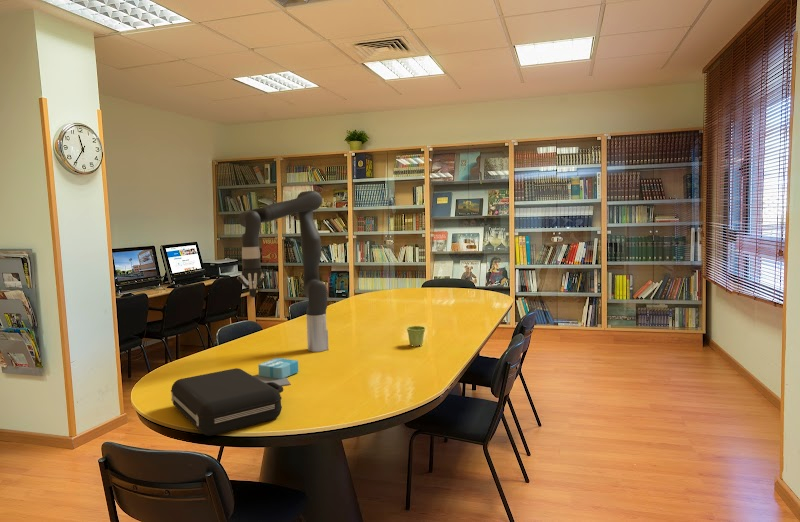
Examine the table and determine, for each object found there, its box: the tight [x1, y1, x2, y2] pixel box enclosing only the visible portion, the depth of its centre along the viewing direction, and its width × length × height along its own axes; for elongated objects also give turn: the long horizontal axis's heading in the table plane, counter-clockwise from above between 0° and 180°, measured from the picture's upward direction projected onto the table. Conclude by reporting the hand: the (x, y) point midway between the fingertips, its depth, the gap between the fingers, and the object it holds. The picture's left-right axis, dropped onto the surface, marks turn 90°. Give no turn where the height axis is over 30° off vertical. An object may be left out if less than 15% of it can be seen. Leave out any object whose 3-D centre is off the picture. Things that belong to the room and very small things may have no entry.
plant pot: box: [406, 325, 426, 347], centre depth 256 cm, size 9×9×9 cm
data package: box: [257, 357, 299, 379], centre depth 213 cm, size 12×4×12 cm
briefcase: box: [170, 367, 285, 437], centre depth 173 cm, size 36×32×10 cm
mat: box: [252, 374, 291, 387], centre depth 205 cm, size 14×18×1 cm
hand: (253, 297), depth 230 cm, fingers closed
